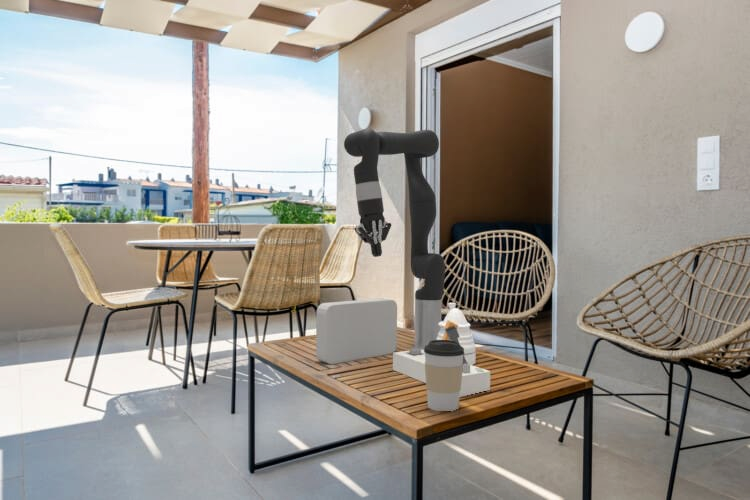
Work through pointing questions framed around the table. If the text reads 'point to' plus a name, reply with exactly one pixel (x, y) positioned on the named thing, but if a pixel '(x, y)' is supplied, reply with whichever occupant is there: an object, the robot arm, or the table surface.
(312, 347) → the table surface
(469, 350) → the honey pot
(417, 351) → the grey button
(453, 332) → the charcoal paddle
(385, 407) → the table surface
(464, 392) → the white rectangular tray
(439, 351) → the coffee cup
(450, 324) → the orange paddle
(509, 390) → the table surface
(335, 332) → the rounded white slab
